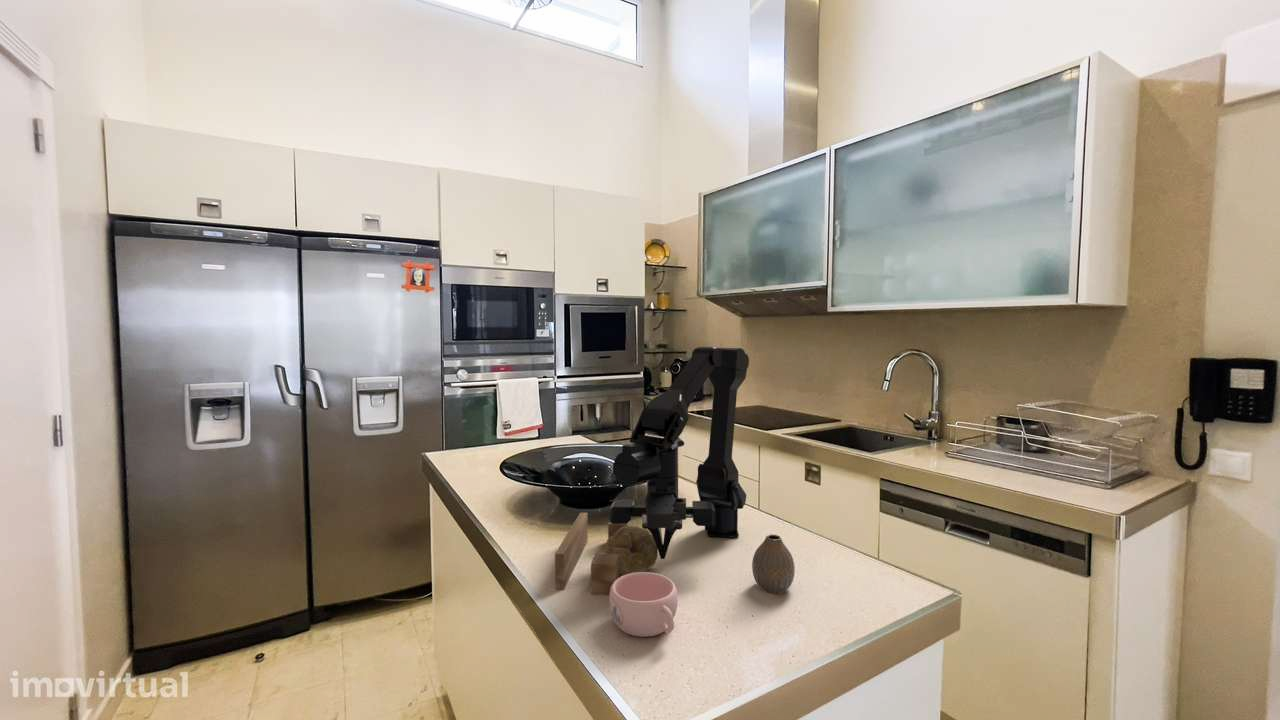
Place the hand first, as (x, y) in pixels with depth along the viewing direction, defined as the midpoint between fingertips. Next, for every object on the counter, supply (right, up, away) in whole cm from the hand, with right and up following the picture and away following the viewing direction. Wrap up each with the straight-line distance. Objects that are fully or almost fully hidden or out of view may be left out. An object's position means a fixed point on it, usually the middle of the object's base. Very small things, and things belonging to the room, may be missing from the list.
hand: (662, 558), depth 95 cm
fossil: (-6, -2, 0) cm, 6 cm away
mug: (-3, -3, -19) cm, 20 cm away
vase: (+18, -2, -8) cm, 20 cm away
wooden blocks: (-12, -2, +1) cm, 12 cm away
